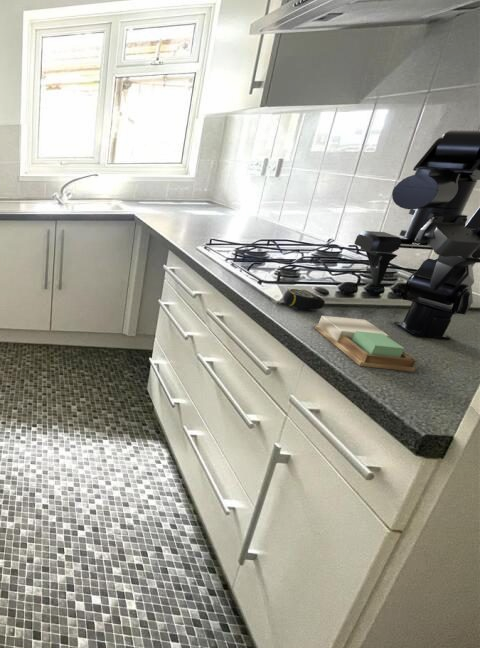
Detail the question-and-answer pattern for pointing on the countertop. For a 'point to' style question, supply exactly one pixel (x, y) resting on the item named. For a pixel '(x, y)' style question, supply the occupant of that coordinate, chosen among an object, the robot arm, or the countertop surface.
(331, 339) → the frame
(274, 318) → the countertop surface
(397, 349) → the green rectangular block
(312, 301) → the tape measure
